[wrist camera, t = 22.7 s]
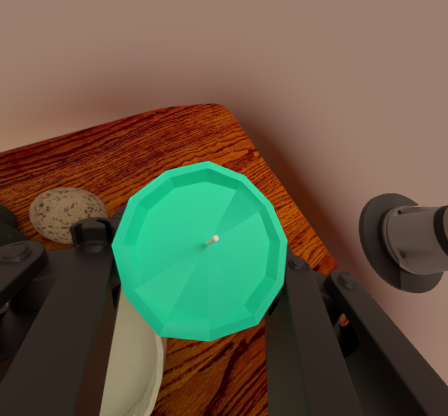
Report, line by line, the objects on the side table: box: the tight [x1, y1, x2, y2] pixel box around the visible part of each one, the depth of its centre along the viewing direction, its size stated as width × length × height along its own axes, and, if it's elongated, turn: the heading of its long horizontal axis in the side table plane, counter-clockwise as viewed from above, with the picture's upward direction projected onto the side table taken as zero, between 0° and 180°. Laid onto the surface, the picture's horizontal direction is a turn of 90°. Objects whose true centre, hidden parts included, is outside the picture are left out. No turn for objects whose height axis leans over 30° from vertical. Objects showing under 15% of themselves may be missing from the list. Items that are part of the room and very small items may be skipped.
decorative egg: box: [29, 187, 108, 244], centre depth 23 cm, size 7×7×10 cm
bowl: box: [99, 284, 167, 416], centre depth 21 cm, size 19×19×6 cm
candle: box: [112, 161, 287, 341], centre depth 10 cm, size 6×6×12 cm
